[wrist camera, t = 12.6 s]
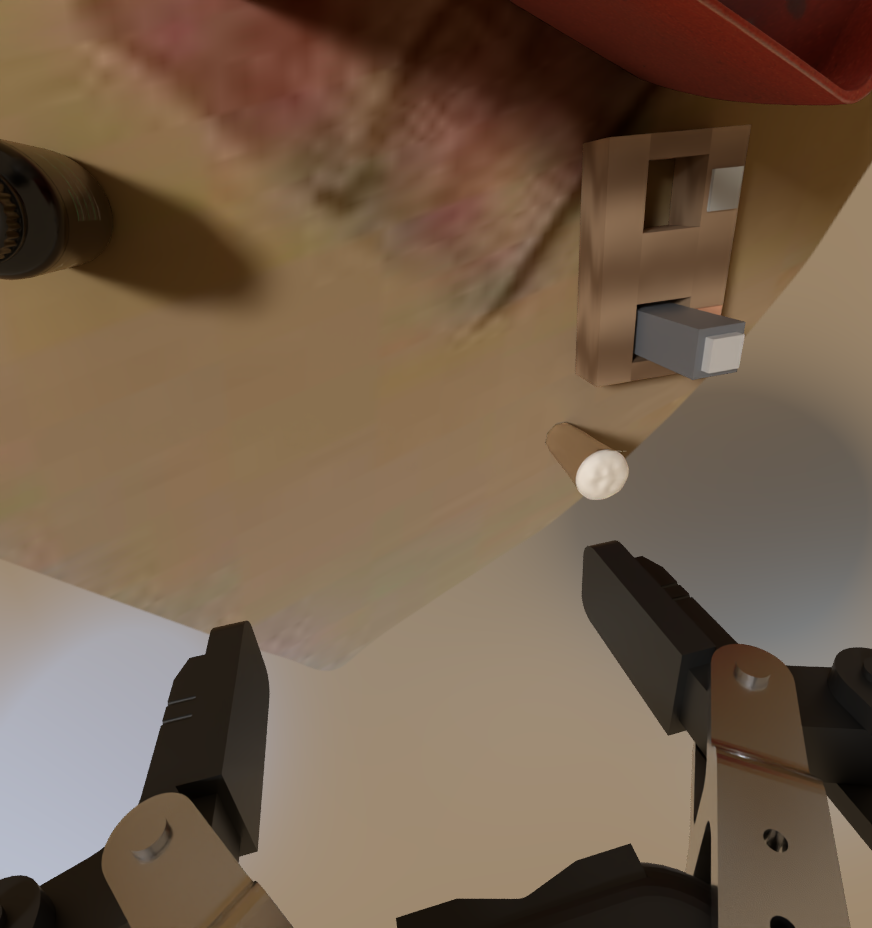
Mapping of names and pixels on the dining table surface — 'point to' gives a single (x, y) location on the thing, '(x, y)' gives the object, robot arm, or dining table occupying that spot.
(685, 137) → the port deck
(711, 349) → the plug
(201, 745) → the robot arm
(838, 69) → the plant pot
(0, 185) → the supplement bottle
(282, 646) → the dining table surface
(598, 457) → the milkshake
